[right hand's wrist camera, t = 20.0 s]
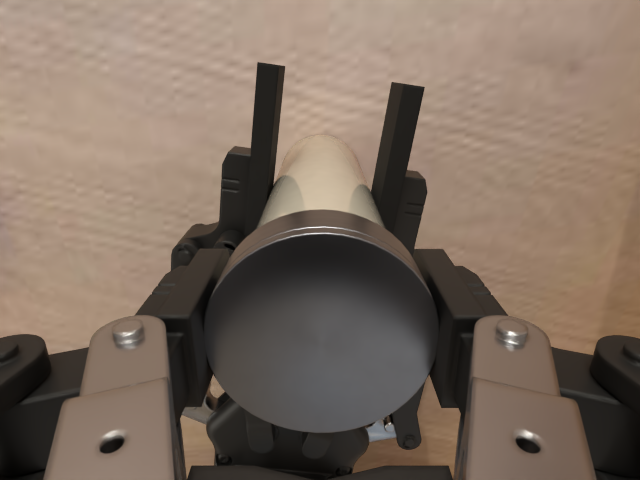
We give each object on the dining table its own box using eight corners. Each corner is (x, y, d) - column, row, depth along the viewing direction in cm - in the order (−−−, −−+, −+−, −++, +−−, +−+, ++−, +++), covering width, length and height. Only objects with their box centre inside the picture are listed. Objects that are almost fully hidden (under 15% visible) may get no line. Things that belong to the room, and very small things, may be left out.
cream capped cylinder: (370, 195, 24) (440, 368, 10) (300, 222, 25) (273, 421, 11) (342, 122, 23) (380, 205, 9) (268, 152, 24) (190, 278, 9)
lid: (406, 186, 9) (422, 206, 8) (436, 368, 11) (454, 412, 10) (189, 235, 10) (167, 263, 8) (252, 403, 12) (242, 450, 10)
